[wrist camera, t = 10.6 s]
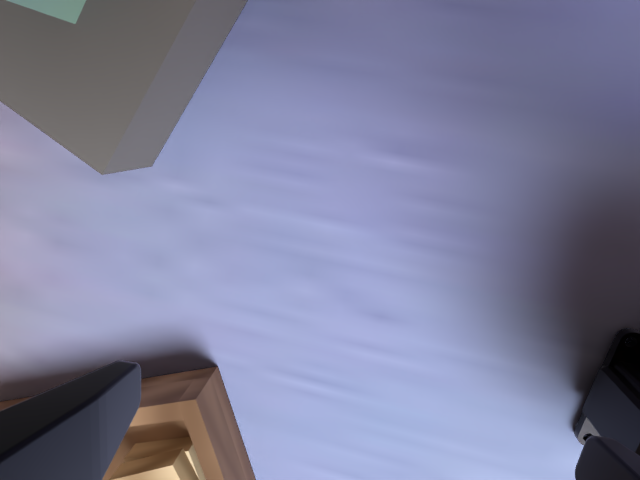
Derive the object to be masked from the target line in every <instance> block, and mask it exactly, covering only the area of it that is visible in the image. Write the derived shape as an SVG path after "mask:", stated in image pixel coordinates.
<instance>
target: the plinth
mask: <svg viewBox="0 0 640 480" xmlns="http://www.w3.org/2000/svg"><path fill="white" fill-rule="evenodd" d="M247 1H248V0H86V2H85V4H84V6H83V8H82V11H81V13H80V15H79V17H78V19H77V22H76V24H73V23H70V22H67V21H64V20H62V19H59V18H56V17H53V16H50V15H47V14H44V13H41V12H38V11H36V10H33V9H30V8H27V7H24V6H21V5H18V4H15V3H13V2H10V1H7V0H0V101H1V102H2V103H4V104H5V105H6V106H8V107H9V108H11V109H12V110H13V111H15V112H16V113H17V114H19V115H20V116H22V117H23V118H24V119H26V120H27V121H28V122H30V123H31V124H33V125H34V126H35V127H37V128H38V129H40V130H41V131H42V132H44V133H45V134H46V135H48V136H49V137H51V138H52V139H53V140H55V141H56V142H57V143H59V144H60V145H62V146H63V147H64V148H66V149H67V150H68V151H70V152H71V153H73V154H74V155H75V156H77V157H78V158H80V159H81V160H82V161H84V162H85V163H86V164H88V165H89V166H91V167H92V168H93V169H95V170H96V171H97V172H99V173H100V174H102V175H104V174H110V173H116V172H122V171H127V170H133V169H139V168H145V167H151V166H152V165H153V163H154V162H155V160H156V158H157V157H158V155H159V153H160V151H161V150H162V148H163V146H164V144H165V143H166V141H167V139H168V137H169V136H170V134H171V132H172V131H173V129H174V127H175V125H176V124H177V122H178V120H179V118H180V117H181V115H182V113H183V112H184V110H185V108H186V106H187V105H188V103H189V101H190V99H191V98H192V96H193V94H194V92H195V91H196V89H197V87H198V86H199V84H200V82H201V80H202V79H203V77H204V75H205V73H206V72H207V70H208V68H209V67H210V65H211V63H212V61H213V60H214V58H215V56H216V54H217V53H218V51H219V49H220V47H221V46H222V44H223V42H224V41H225V39H226V37H227V35H228V34H229V32H230V30H231V28H232V27H233V25H234V23H235V21H236V20H237V18H238V16H239V15H240V13H241V11H242V9H243V8H244V6H245V4H246V2H247Z"/></svg>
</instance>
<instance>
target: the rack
mask: <svg viewBox="0 0 640 480" xmlns="http://www.w3.org/2000/svg"><path fill="white" fill-rule="evenodd" d="M32 397H34V396H32ZM32 397H26V398H20V399H14V400H7V401H1V402H0V411H1V410H3V409H6V408H8V407H10V406H13V405H15V404H17V403H20V402H22V401H25V400H27V399H29V398H32ZM182 437H190V438H191V440H192V443H193V446H194V448H195V451H196V454H197V457H198V459H199V462H200V465H201V468H202V470H203V473H204V476H205V478H206V480H256V479H255V476H254V473H253V470H252V467H251V464H250V461H249V458H248V455H247V452H246V449H245V446H244V443H243V440H242V437H241V434H240V431H239V429H238V426H237V423H236V420H235V417H234V414H233V411H232V408H231V405H230V402H229V399H228V396H227V393H226V390H225V387H224V384H223V381H222V378H221V375H220V372H219V369H218V366H217V367H211V368H205V369H199V370H193V371H186V372H180V373H174V374H168V375H162V376H156V377H149V378H143V379H141V401H140V405H139V408H138V410H137V412H136V414H135V416H134V418H133V420H132V422H131V424H130V426H129V428H128V430H127V432H126V434H125V436H124V438H123V440H122V442H121V444H120V446H119V448H118V450H117V452H116V454H115V456H114V458H113V460H112V462H111V464H110V466H109V468H108V469H107V471H106V473H105V475H104V477H103V479H102V480H109V479H110V478H111V477H112V475H113V474H114V473H115V471H116V470H117V469H118V467H119V466H120V465H121V463H125V462H124V458H125V456H126V455H127V454H128V453H129V451H130V450H131V449H132V447H133V446H134V445H135V444H136V443H144V442H151V441H159V440H167V439H174V438H182Z"/></svg>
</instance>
